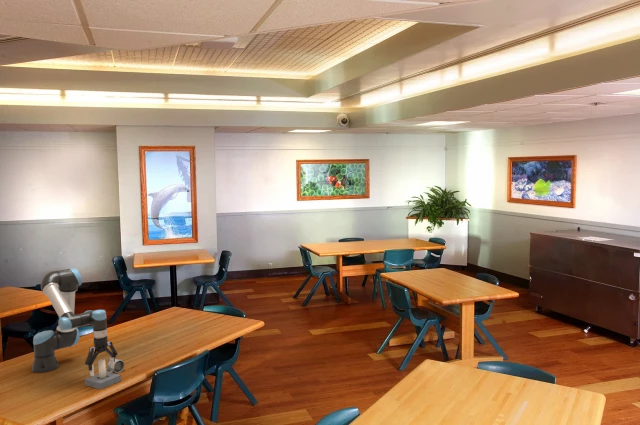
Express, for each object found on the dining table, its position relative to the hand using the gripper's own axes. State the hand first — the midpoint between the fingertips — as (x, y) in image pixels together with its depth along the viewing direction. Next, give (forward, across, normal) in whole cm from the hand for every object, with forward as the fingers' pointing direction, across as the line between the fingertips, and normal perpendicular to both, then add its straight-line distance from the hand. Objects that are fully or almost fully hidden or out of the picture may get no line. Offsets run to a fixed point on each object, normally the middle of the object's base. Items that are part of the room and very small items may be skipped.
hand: (102, 371), depth 310 cm
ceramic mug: (+7, +15, +9) cm, 19 cm away
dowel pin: (+5, 0, 0) cm, 5 cm away
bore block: (+7, 0, 0) cm, 7 cm away
